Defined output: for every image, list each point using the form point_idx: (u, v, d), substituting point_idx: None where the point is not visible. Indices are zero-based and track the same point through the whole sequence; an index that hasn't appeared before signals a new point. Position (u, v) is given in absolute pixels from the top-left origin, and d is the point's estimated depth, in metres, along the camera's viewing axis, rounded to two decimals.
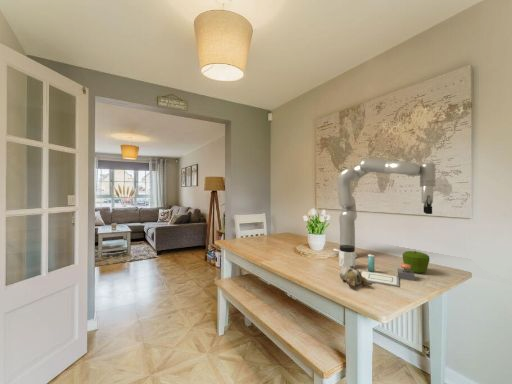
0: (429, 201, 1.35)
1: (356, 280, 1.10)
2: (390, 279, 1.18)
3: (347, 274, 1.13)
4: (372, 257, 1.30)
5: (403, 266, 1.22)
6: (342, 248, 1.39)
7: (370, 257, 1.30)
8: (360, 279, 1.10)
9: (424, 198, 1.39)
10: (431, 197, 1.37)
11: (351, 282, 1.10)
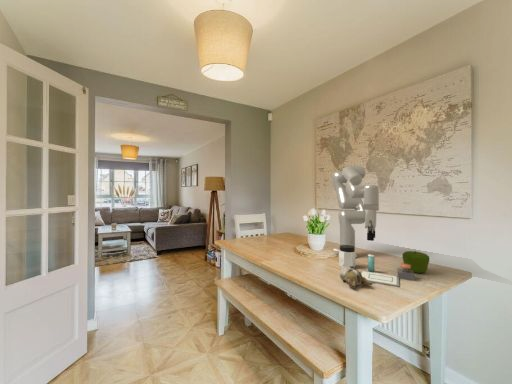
0: (369, 227, 1.25)
1: (356, 280, 1.09)
2: (390, 279, 1.18)
3: (347, 274, 1.12)
4: (372, 257, 1.30)
5: (403, 266, 1.22)
6: (342, 248, 1.39)
7: (370, 257, 1.30)
8: (360, 279, 1.10)
9: (366, 223, 1.28)
10: (373, 222, 1.27)
11: (351, 282, 1.09)
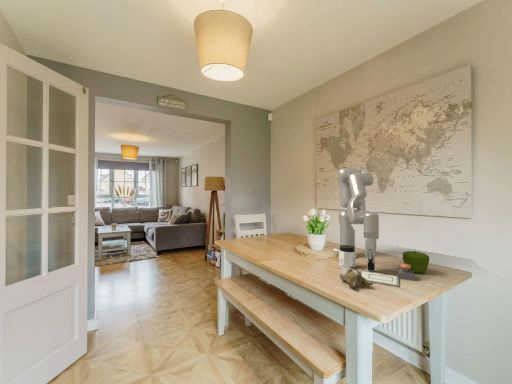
0: (370, 259, 1.27)
1: (356, 280, 1.09)
2: (390, 279, 1.18)
3: (347, 274, 1.12)
4: None
5: (403, 266, 1.22)
6: (342, 248, 1.39)
7: None
8: (360, 279, 1.10)
9: (366, 252, 1.28)
10: (373, 251, 1.27)
11: (351, 283, 1.09)
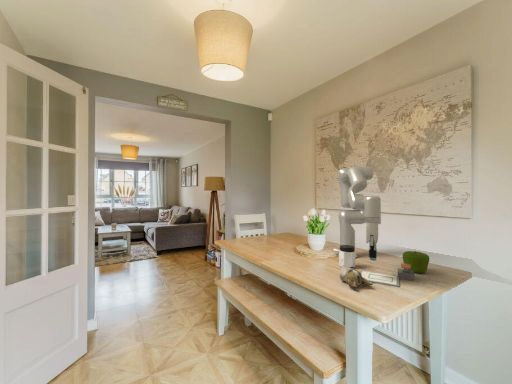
0: (371, 246, 1.17)
1: (357, 281, 1.09)
2: (390, 279, 1.18)
3: (347, 275, 1.12)
4: None
5: (403, 266, 1.22)
6: (342, 248, 1.39)
7: None
8: (360, 280, 1.09)
9: (367, 238, 1.19)
10: (374, 237, 1.17)
11: (352, 283, 1.09)
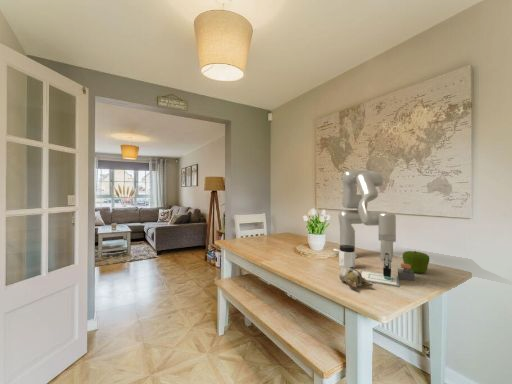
0: (386, 264, 1.13)
1: (357, 281, 1.08)
2: (390, 279, 1.18)
3: (347, 275, 1.11)
4: (388, 263, 1.18)
5: (403, 266, 1.22)
6: (342, 248, 1.39)
7: None
8: (361, 280, 1.09)
9: (382, 256, 1.16)
10: (390, 255, 1.14)
11: (352, 283, 1.08)
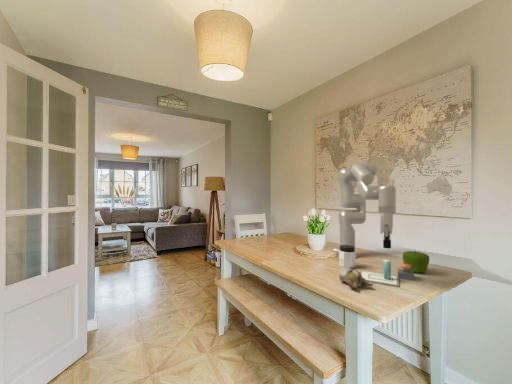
0: (386, 236, 1.15)
1: (357, 281, 1.08)
2: (390, 279, 1.18)
3: (347, 275, 1.11)
4: (388, 263, 1.18)
5: (403, 266, 1.22)
6: (342, 248, 1.39)
7: (386, 262, 1.18)
8: (361, 280, 1.09)
9: (382, 228, 1.16)
10: (389, 227, 1.14)
11: (352, 283, 1.08)
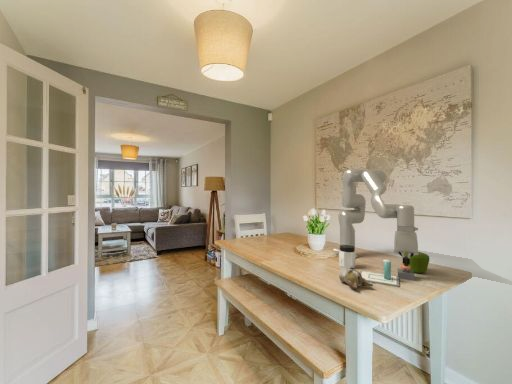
0: None
1: (357, 282, 1.08)
2: (390, 279, 1.18)
3: (348, 276, 1.10)
4: (388, 263, 1.17)
5: (403, 267, 1.22)
6: (342, 248, 1.39)
7: (386, 263, 1.18)
8: (361, 280, 1.09)
9: None
10: (394, 244, 1.24)
11: (352, 284, 1.08)
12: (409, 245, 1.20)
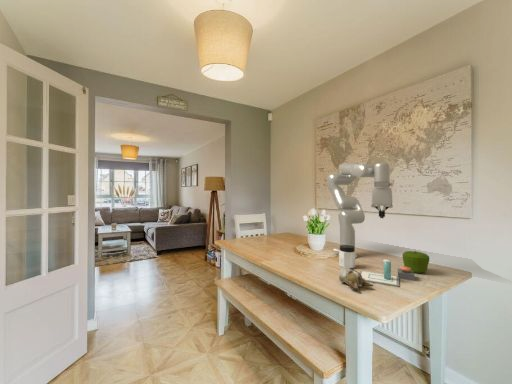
0: (373, 207, 1.37)
1: (357, 282, 1.07)
2: (390, 279, 1.18)
3: (348, 276, 1.10)
4: (388, 262, 1.18)
5: (403, 269, 1.22)
6: (342, 248, 1.39)
7: (386, 262, 1.18)
8: (361, 281, 1.08)
9: None
10: None
11: (353, 284, 1.07)
12: (384, 198, 1.32)
